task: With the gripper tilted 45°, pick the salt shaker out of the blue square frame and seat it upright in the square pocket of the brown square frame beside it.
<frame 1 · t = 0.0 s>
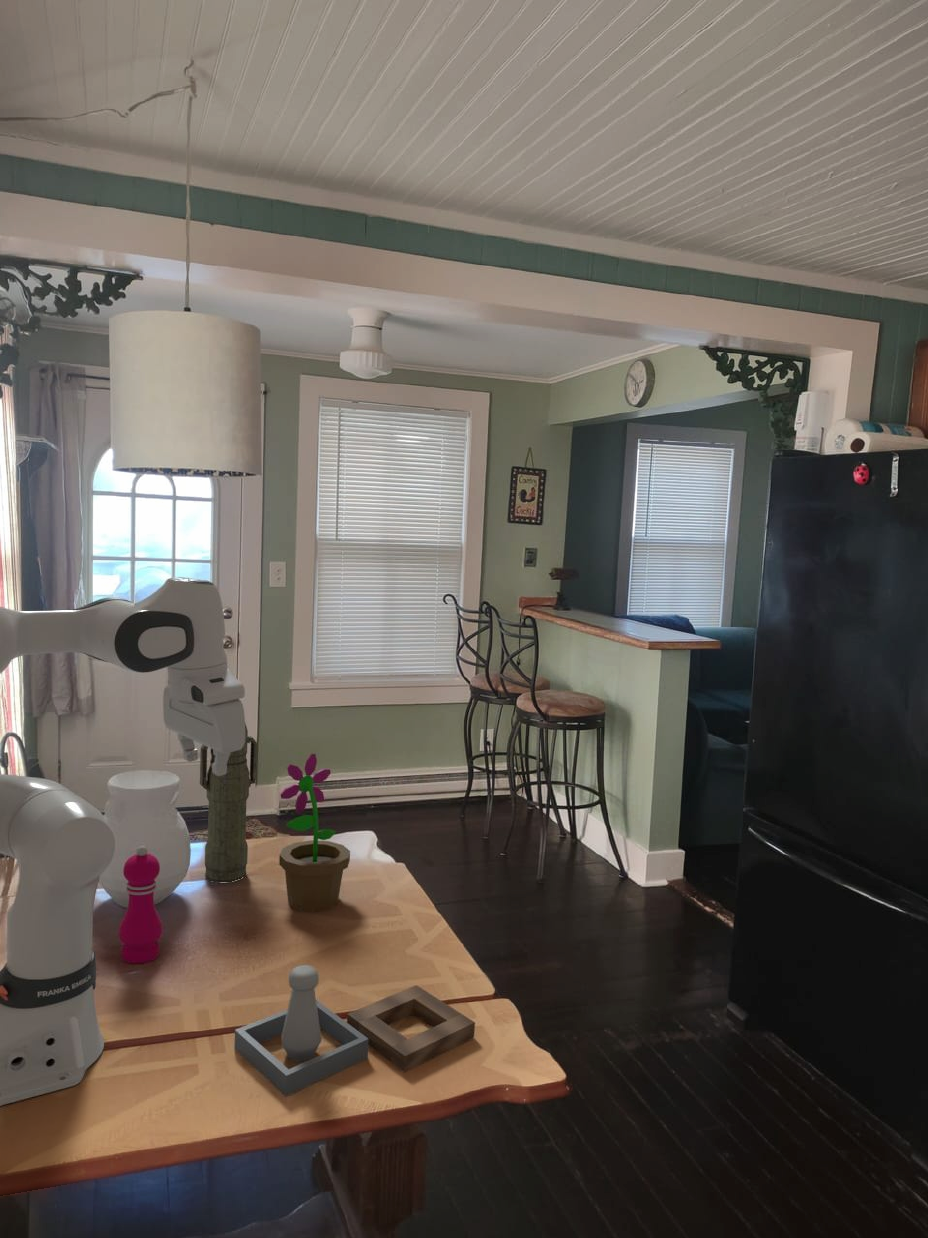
hand: (205, 767, 140), 39 cm above the table, tool pointing down, fingers open, 8 cm apart
salt shaker: (300, 1055, 132), resting in blue square frame
brown square frame: (410, 1033, 138), on the table
blue square frame: (300, 1053, 132), on the table
thermos: (225, 876, 194), on the table
flowerpot: (313, 901, 184), on the table
pepper mill: (140, 956, 158), on the table
pitcher: (142, 899, 181), on the table
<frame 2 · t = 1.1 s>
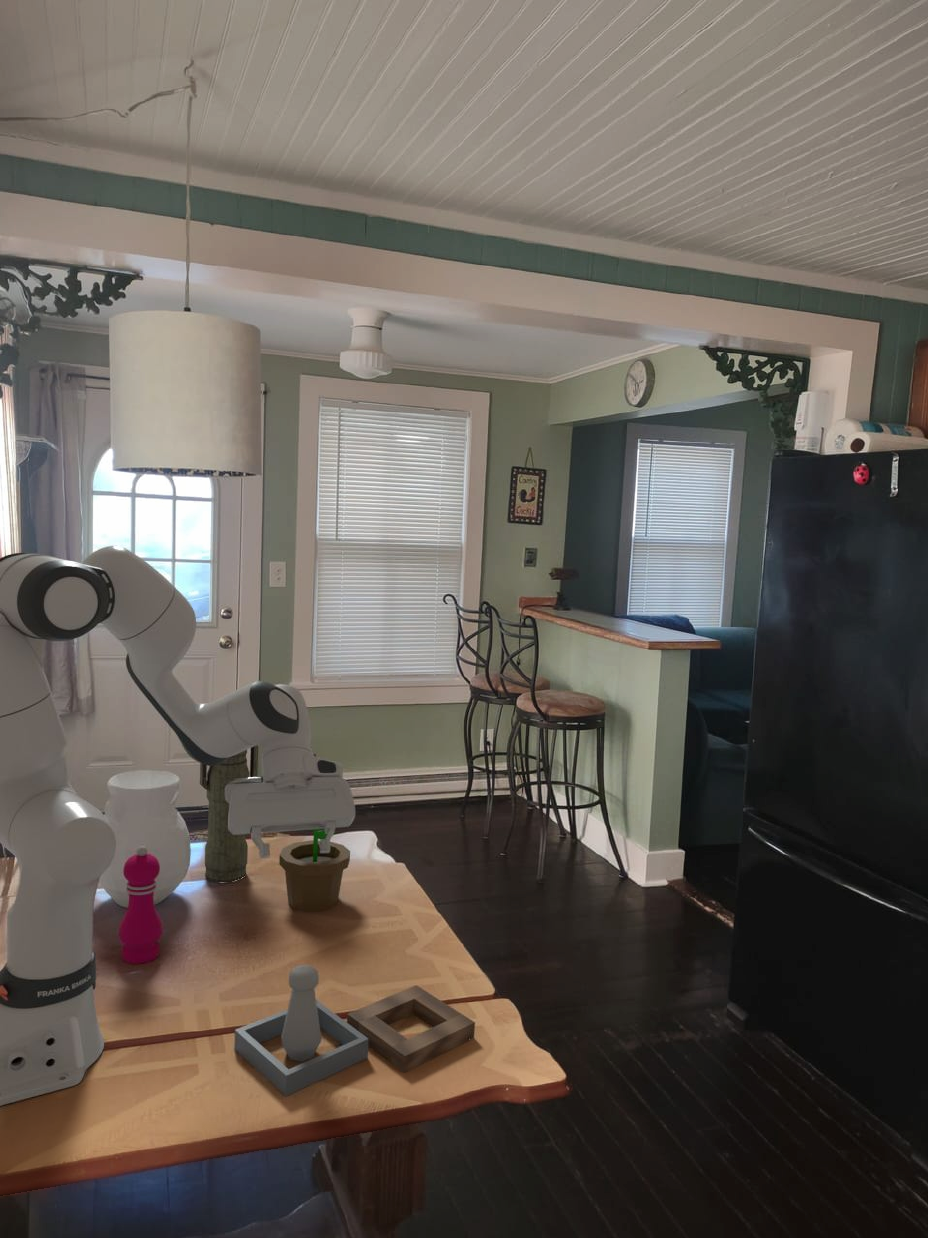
hand: (295, 854, 141), 26 cm above the table, tool tilted 45°, fingers open, 8 cm apart
nothing on the table moved.
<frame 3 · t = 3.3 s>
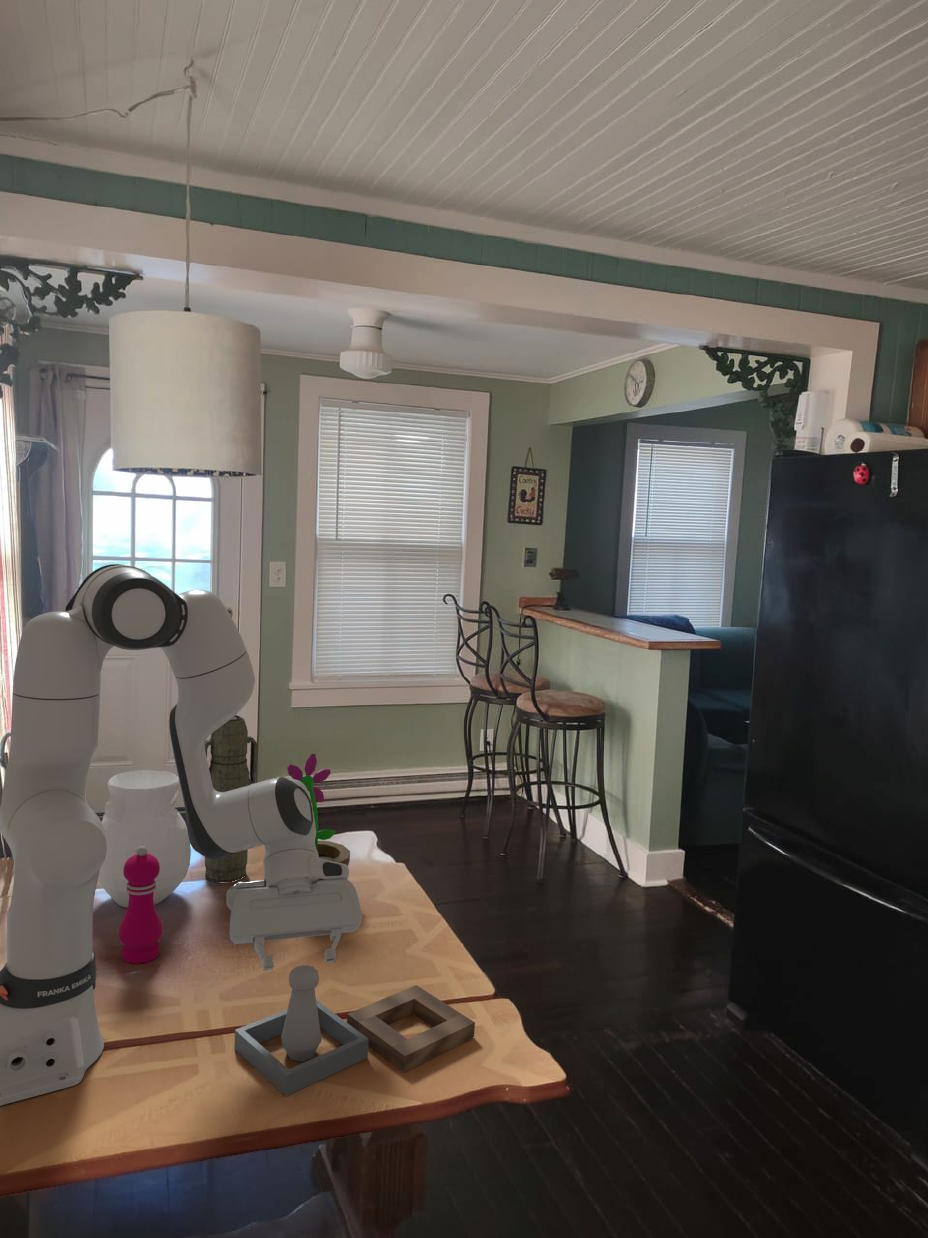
hand: (299, 965, 135), 11 cm above the table, tool tilted 45°, fingers open, 8 cm apart
nothing on the table moved.
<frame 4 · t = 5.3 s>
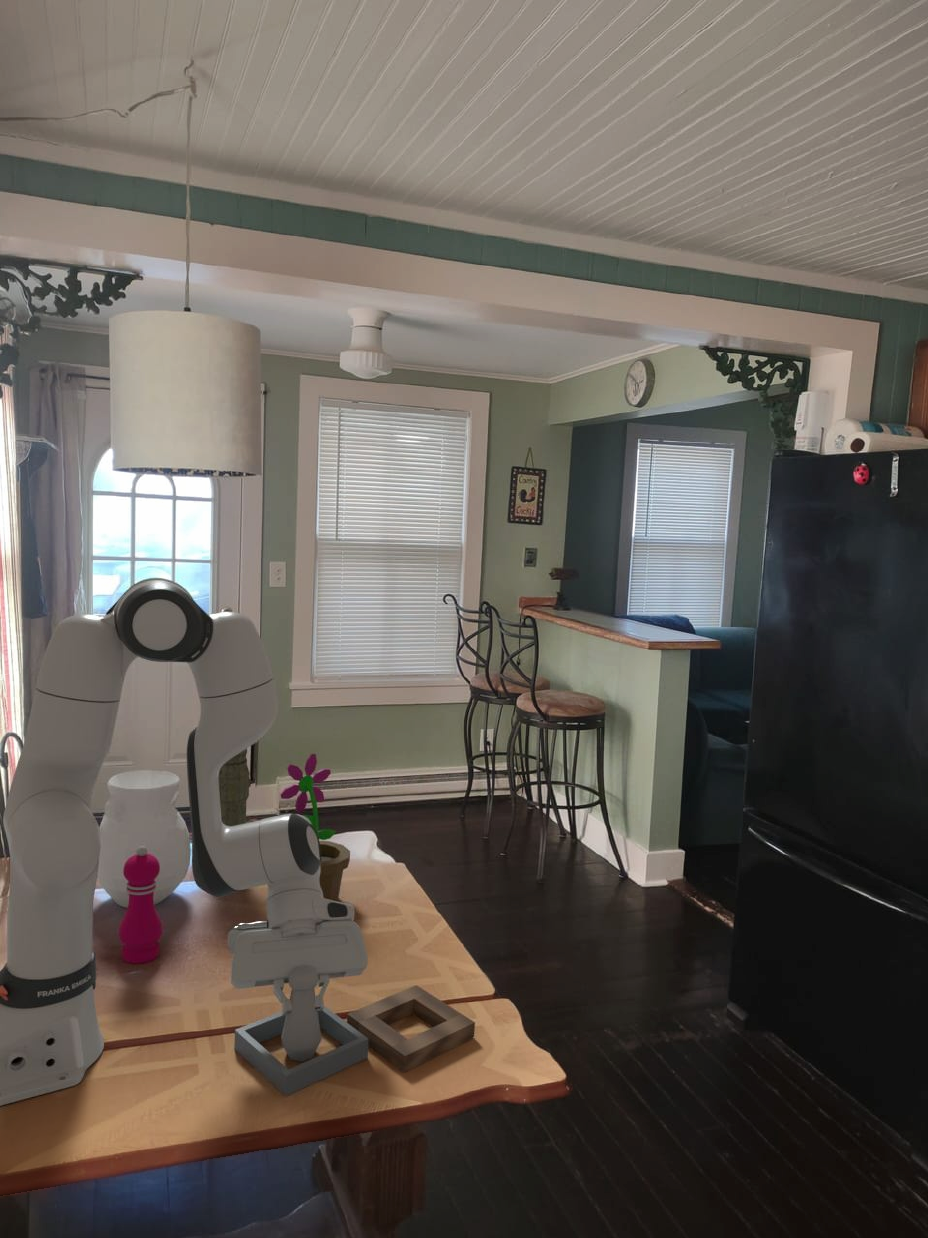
hand: (303, 1011, 130), 7 cm above the table, tool tilted 45°, fingers closed on salt shaker, 3 cm apart
salt shaker: (300, 1054, 132), resting in blue square frame, touching gripper
everything else where it was.
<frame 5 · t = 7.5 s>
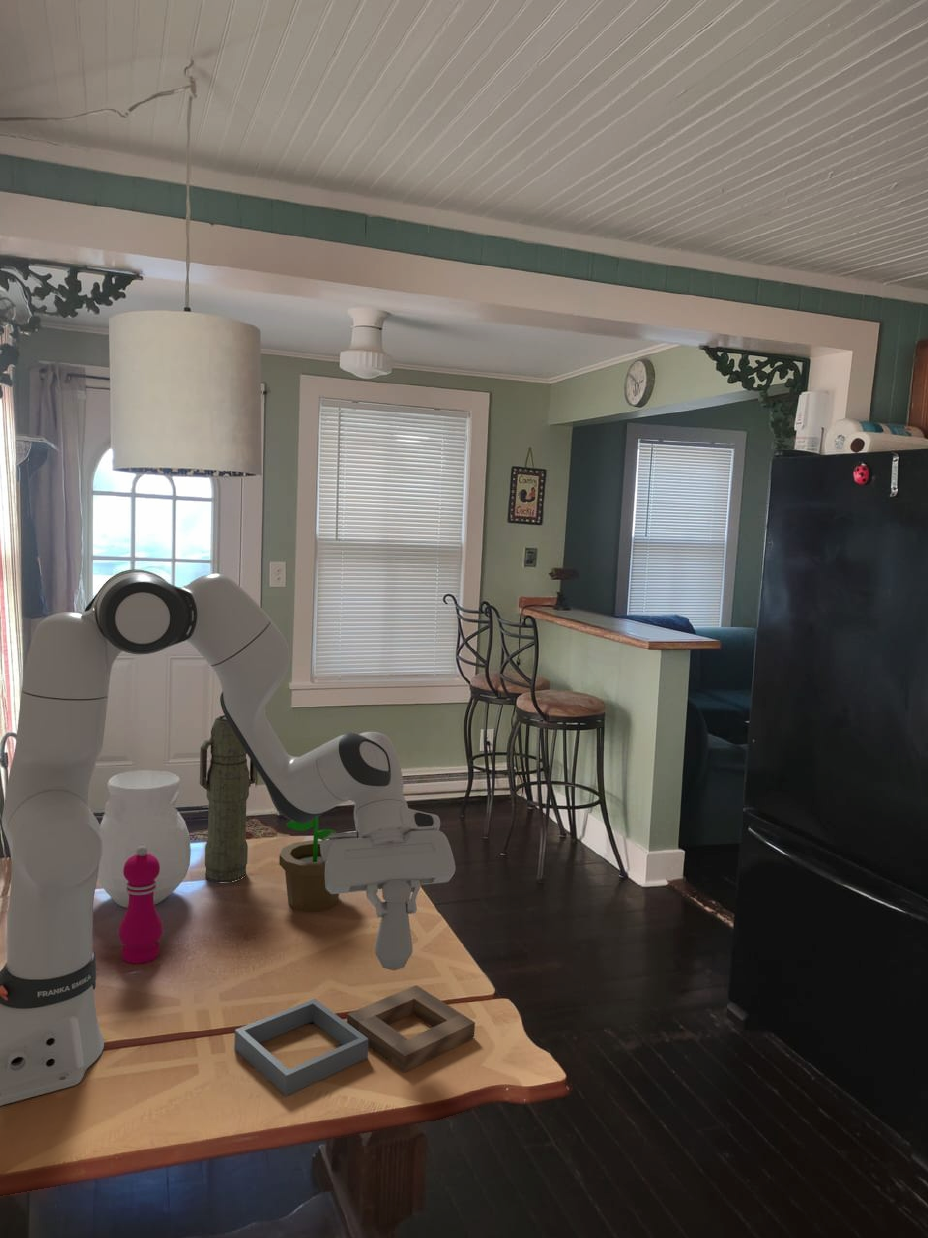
hand: (397, 914, 135), 20 cm above the table, tool tilted 45°, fingers closed on salt shaker, 3 cm apart
salt shaker: (393, 964, 137), point 11 cm above the table, touching gripper
everything else where it was.
when the fingers open (9 cm above the table, at t = 10.1 s): salt shaker stays where it is, resting in brown square frame.
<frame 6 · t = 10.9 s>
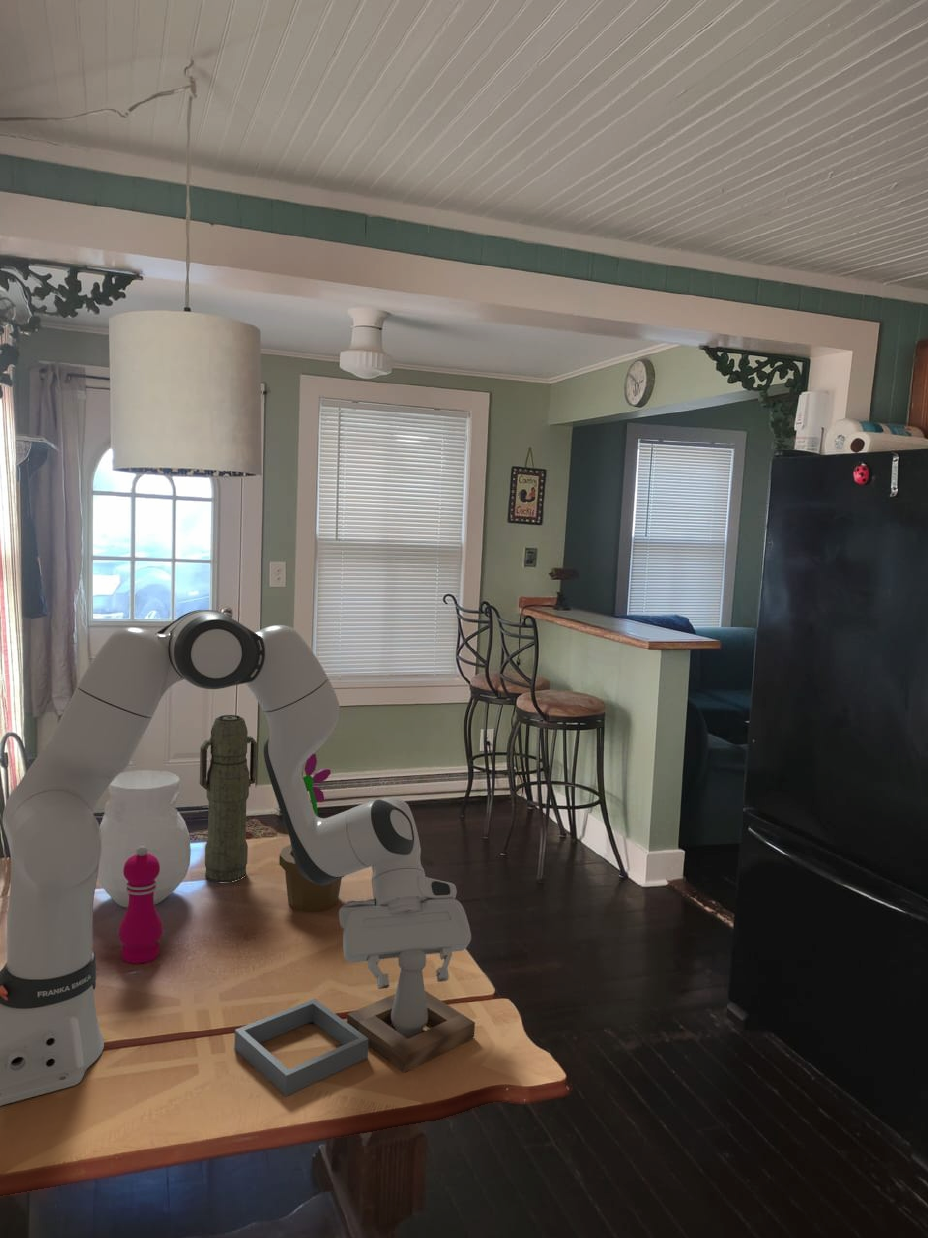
hand: (413, 984, 137), 8 cm above the table, tool tilted 45°, fingers open, 8 cm apart
salt shaker: (408, 1032, 139), resting in brown square frame
everything else where it was.
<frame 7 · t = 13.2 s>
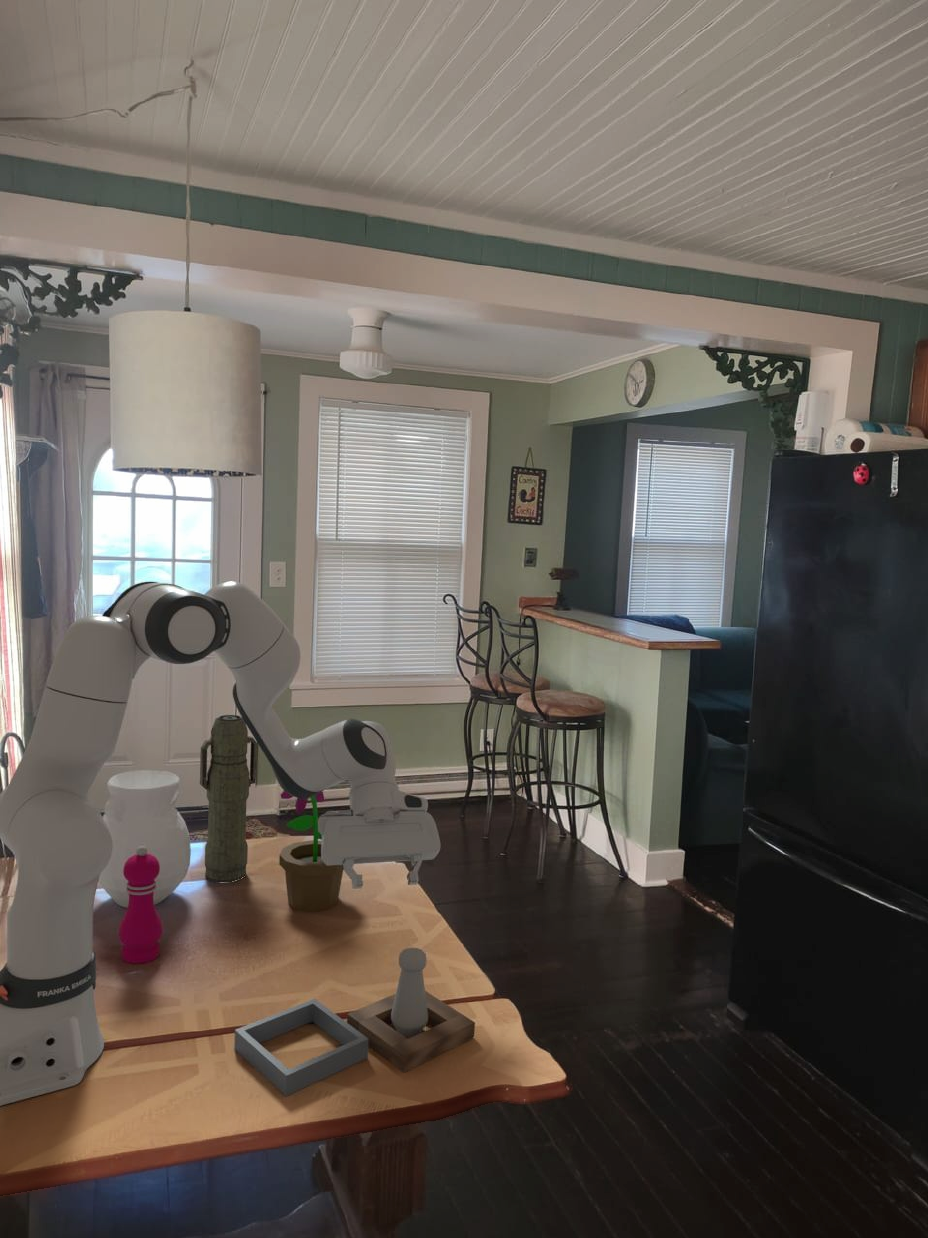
hand: (386, 885, 148), 19 cm above the table, tool tilted 45°, fingers open, 8 cm apart
nothing on the table moved.
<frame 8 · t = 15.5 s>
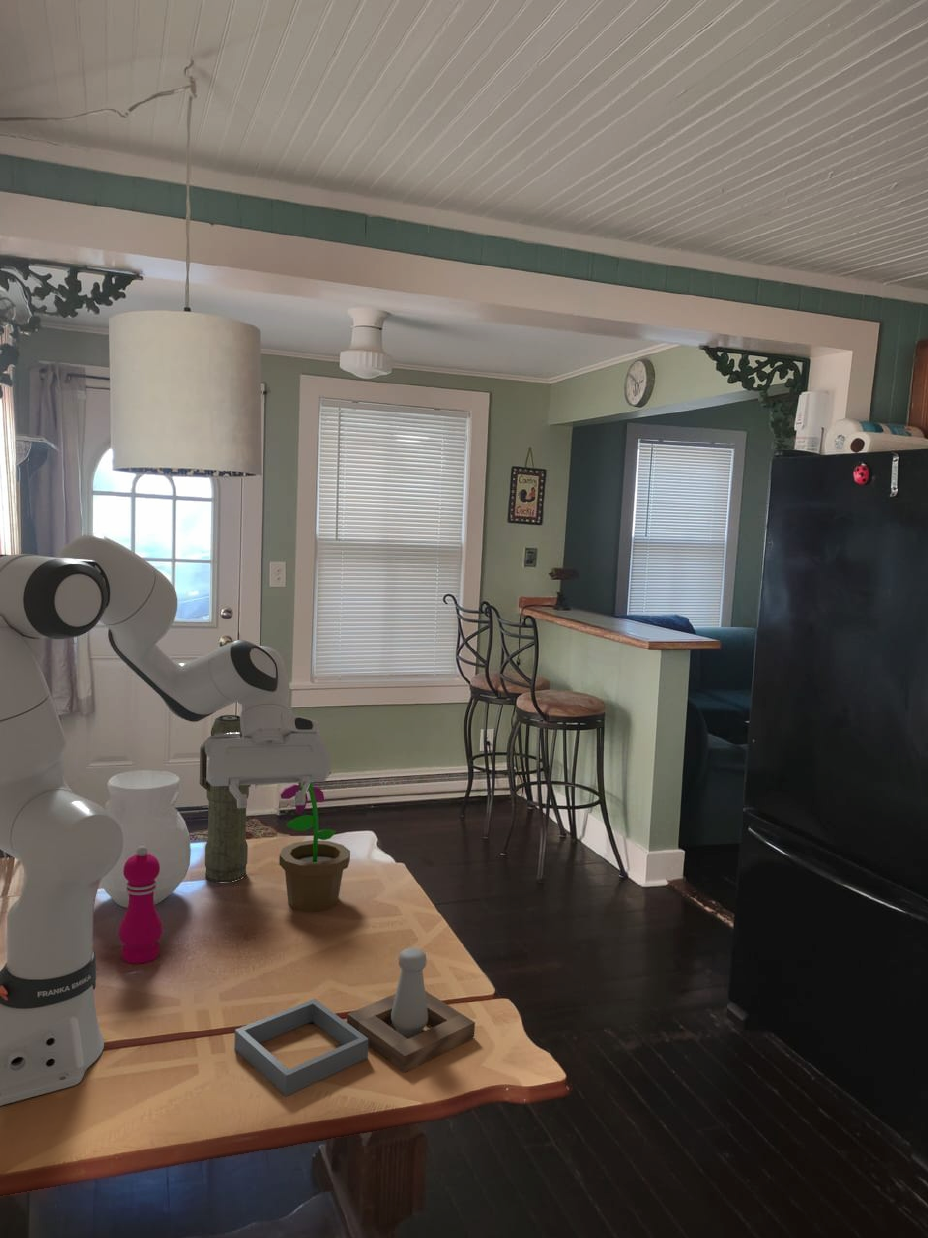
hand: (271, 805, 146), 31 cm above the table, tool tilted 45°, fingers open, 8 cm apart
nothing on the table moved.
at the end: salt shaker 0.5 cm off-centre on the brown square frame, point 0.0 cm above the brown square frame's base; salt shaker tilted 0°; the gripper is holding nothing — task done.
